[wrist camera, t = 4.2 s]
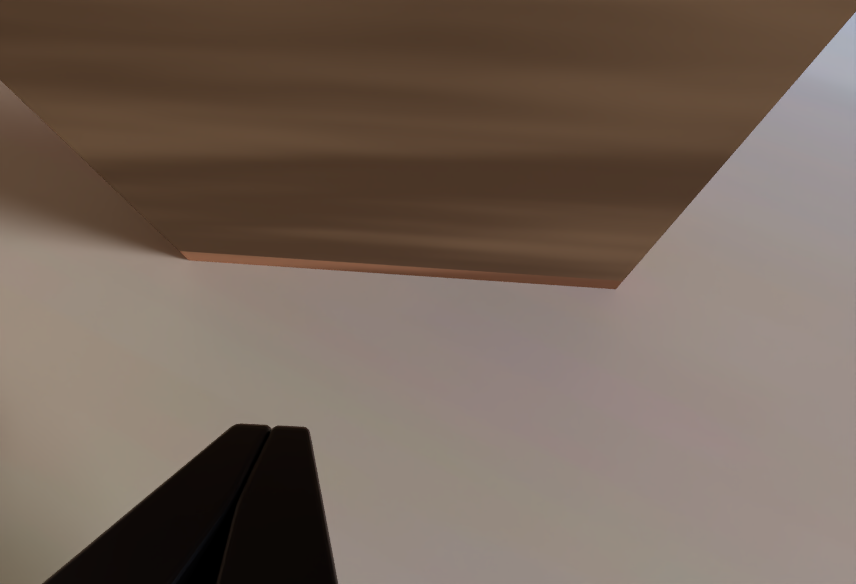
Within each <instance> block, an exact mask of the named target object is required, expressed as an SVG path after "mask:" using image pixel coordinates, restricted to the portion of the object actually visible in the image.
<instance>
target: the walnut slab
mask: <svg viewBox="0 0 856 584" xmlns="http://www.w3.org/2000/svg"><path fill="white" fill-rule="evenodd" d="M855 12H856V0H0V80H1V81H2V82H3V83H4V84H5V85H6V86H7V87H8V88H9V89H10V90H11V91H12V92H13V93H15V94H16V95H17V96H18V97H19V98H20V99H21V100H22V101H23V102H24V103H25V104H26V105H27V106H28V107H29V108H30V109H31V110H32V111H33V112H34V113H35V114H36V115H38V116H39V117H40V118H41V119H42V120H43V121H44V122H45V123H46V124H47V125H48V126H49V127H50V128H51V129H52V130H53V131H54V132H55V133H56V134H57V135H58V136H59V137H61V138H62V139H63V140H64V141H65V142H66V143H67V144H68V145H69V146H70V147H71V148H72V149H73V150H74V151H75V152H76V153H77V154H78V155H79V156H80V157H81V158H83V159H84V160H85V161H86V162H87V163H88V164H89V165H90V166H91V167H92V168H93V169H94V170H95V171H96V172H97V173H98V174H99V175H100V176H101V177H102V178H103V179H104V180H106V181H107V182H108V183H109V184H110V185H111V186H112V187H113V188H114V189H115V190H116V191H117V192H118V193H119V194H120V195H121V196H122V197H123V198H124V199H125V200H126V201H127V202H129V203H130V204H131V205H132V206H133V207H134V208H135V209H136V210H137V211H138V212H139V213H140V214H141V215H142V216H143V217H144V218H145V219H146V220H147V221H148V222H149V223H150V224H152V225H153V226H154V227H155V228H156V229H157V230H158V231H159V232H160V233H161V234H162V235H163V236H164V237H165V238H166V239H167V240H168V241H169V242H170V243H171V244H172V245H174V246H175V247H176V248H177V249H178V250H179V251H180V252H181V253H182V254H183V255H184V256H185V257H186V258H187V259H188V260H193V261H207V262H222V263H237V264H252V265H267V266H281V267H296V268H311V269H326V270H341V271H355V272H370V273H385V274H400V275H414V276H429V277H444V278H459V279H474V280H488V281H503V282H518V283H533V284H548V285H562V286H577V287H592V288H607V289H616V288H617V287H618V286H619V285H620V284H621V282H622V281H623V280H624V279H625V278H626V277H627V276H628V274H629V273H630V272H631V271H632V270H633V269H634V267H635V266H636V265H637V264H638V263H639V262H640V261H641V259H642V258H643V257H644V256H645V255H646V254H647V252H648V251H649V250H650V249H651V248H652V247H653V245H654V244H655V243H656V242H657V241H658V240H659V239H660V237H661V236H662V235H663V234H664V233H665V232H666V230H667V229H668V228H669V227H670V226H671V225H672V223H673V222H674V221H675V220H676V219H677V218H678V217H679V215H680V214H681V213H682V212H683V211H684V210H685V208H686V207H687V206H688V205H689V204H690V203H691V202H692V200H693V199H694V198H695V197H696V196H697V195H698V193H699V192H700V191H701V190H702V189H703V188H704V186H705V185H706V184H707V183H708V182H709V181H710V180H711V178H712V177H713V176H714V175H715V174H716V173H717V171H718V170H719V169H720V168H721V167H722V166H723V164H724V163H725V162H726V161H727V160H728V159H729V158H730V156H731V155H732V154H733V153H734V152H735V151H736V149H737V148H738V147H739V146H740V145H741V144H742V143H743V141H744V140H745V139H746V138H747V137H748V136H749V134H750V133H751V132H752V131H753V130H754V129H755V127H756V126H757V125H758V124H759V123H760V122H761V121H762V119H763V118H764V117H765V116H766V115H767V114H768V112H769V111H770V110H771V109H772V108H773V107H774V105H775V104H776V103H777V102H778V101H779V100H780V99H781V97H782V96H783V95H784V94H785V93H786V92H787V90H788V89H789V88H790V87H791V86H792V85H793V84H794V82H795V81H796V80H797V79H798V78H799V77H800V75H801V74H802V73H803V72H804V71H805V70H806V68H807V67H808V66H809V65H810V64H811V63H812V62H813V60H814V59H815V58H816V57H817V56H818V55H819V53H820V52H821V51H822V50H823V49H824V48H825V46H826V45H827V44H828V43H829V42H830V41H831V40H832V38H833V37H834V36H835V35H836V34H837V33H838V31H839V30H840V29H841V28H842V27H843V26H844V25H845V23H846V22H847V21H848V20H849V19H850V18H851V16H852V15H853V14H854V13H855Z"/></svg>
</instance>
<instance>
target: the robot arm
mask: <svg viewBox="0 0 856 584" xmlns="http://www.w3.org/2000/svg"><path fill="white" fill-rule="evenodd" d="M42 584H338V580H337V575H336V570H335V564H334V559H333V553H332V548H331V543H330V537H329V532H328V527H327V521H326V516H325V511H324V505H323V500H322V495H321V489H320V484H319V478H318V473H317V468H316V462H315V457H314V452H313V446H312V441H311V436H310V432H309V430H308V429H307V428H306V427H297V426H276V427H274V428H272V429H271V428H270V427H269V426H268V425H259V424H236V425H234V426H232V427H230V428H229V429H228V430H227V431H226V432H224V433H223V434H222V435H221V436H219V437H218V438H217V439H216V440H215V441H213V442H212V443H211V444H210V445H209V446H207V447H206V448H205V449H204V450H203V451H201V452H200V453H199V454H198V455H197V456H195V457H194V458H193V459H192V460H191V461H189V462H188V463H187V464H186V465H185V466H183V467H182V468H181V469H180V470H179V471H177V472H176V473H175V474H174V475H173V476H171V477H170V478H169V479H168V480H167V481H165V482H164V483H163V484H162V485H160V486H159V487H158V488H157V489H156V490H154V491H153V492H152V493H151V494H150V495H148V496H147V497H146V498H145V499H144V500H142V501H141V502H140V503H139V504H138V505H136V506H135V507H134V508H133V509H132V510H130V511H129V512H128V513H127V514H126V515H124V516H123V517H122V518H121V519H120V520H118V521H117V522H116V523H115V524H114V525H112V526H111V527H110V528H109V529H108V530H106V531H105V532H104V533H103V534H101V535H100V536H99V537H98V538H97V539H95V540H94V541H93V542H92V543H91V544H89V545H88V546H87V547H86V548H85V549H83V550H82V551H81V552H80V553H79V554H77V555H76V556H75V557H74V558H73V559H71V560H70V561H69V562H68V563H67V564H65V565H64V566H63V567H62V568H61V569H59V570H58V571H57V572H56V573H55V574H53V575H52V576H51V577H50V578H49V579H47V580H46V581H45V582H44V583H42Z"/></svg>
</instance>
